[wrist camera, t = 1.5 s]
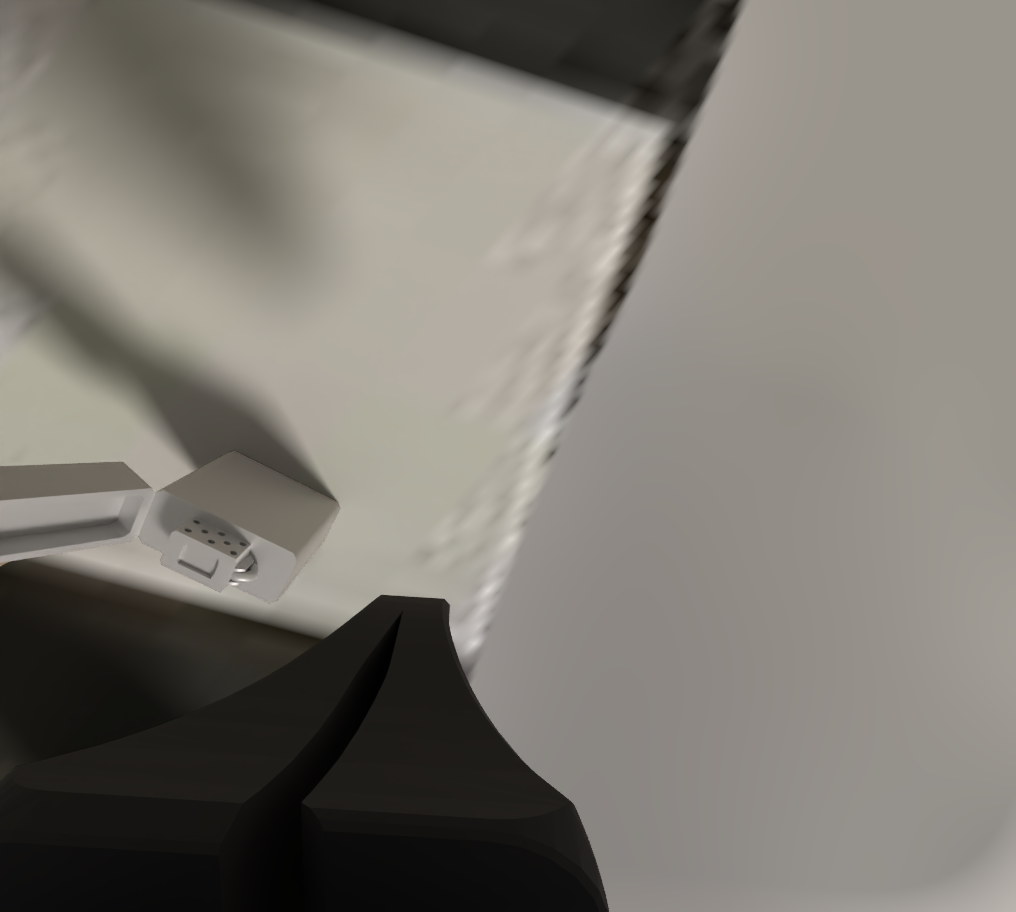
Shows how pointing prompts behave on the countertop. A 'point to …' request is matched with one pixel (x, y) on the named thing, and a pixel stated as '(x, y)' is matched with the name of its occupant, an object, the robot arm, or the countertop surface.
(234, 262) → the countertop surface
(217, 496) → the lighter
